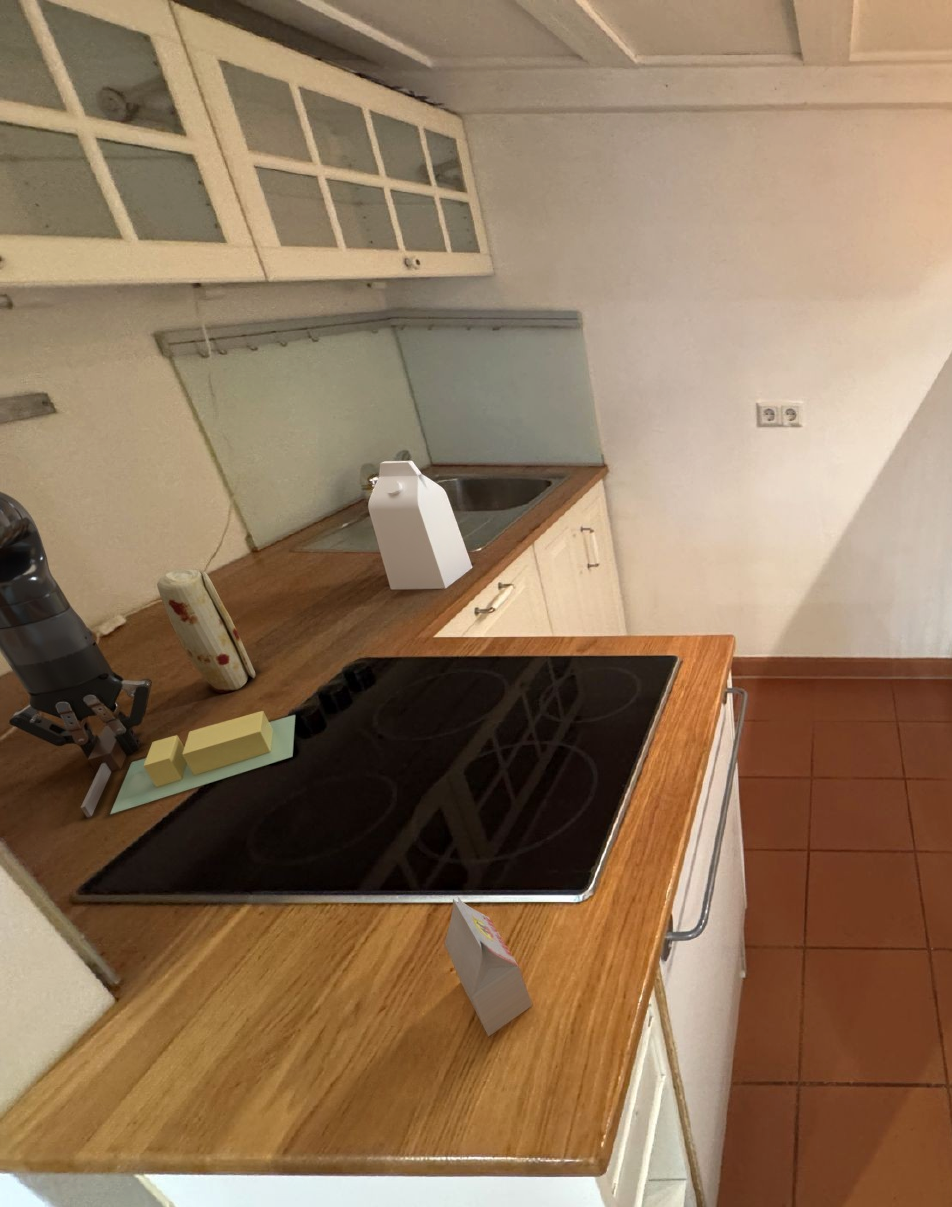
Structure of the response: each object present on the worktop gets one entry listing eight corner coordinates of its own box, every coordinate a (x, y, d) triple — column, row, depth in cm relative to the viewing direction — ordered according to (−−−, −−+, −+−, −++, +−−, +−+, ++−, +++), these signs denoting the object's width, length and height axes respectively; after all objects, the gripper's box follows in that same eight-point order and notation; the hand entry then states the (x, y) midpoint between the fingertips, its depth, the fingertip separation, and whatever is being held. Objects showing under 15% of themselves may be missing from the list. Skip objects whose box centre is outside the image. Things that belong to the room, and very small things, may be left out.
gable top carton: (490, 1042, 55) (458, 963, 50) (463, 988, 59) (430, 910, 55) (534, 1011, 57) (506, 932, 52) (504, 961, 61) (476, 884, 57)
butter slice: (156, 787, 83) (143, 765, 82) (164, 762, 88) (152, 741, 86) (182, 779, 85) (169, 757, 83) (189, 755, 89) (177, 734, 88)
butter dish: (113, 820, 80) (109, 814, 79) (135, 768, 89) (131, 762, 88) (295, 762, 89) (292, 756, 88) (297, 720, 98) (295, 714, 97)
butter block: (194, 775, 85) (181, 754, 84) (200, 752, 90) (188, 731, 88) (270, 752, 89) (260, 731, 88) (273, 730, 94) (263, 710, 92)
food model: (206, 680, 109) (148, 569, 100) (257, 666, 113) (205, 557, 104) (208, 705, 102) (146, 588, 93) (262, 688, 106) (207, 575, 97)
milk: (472, 567, 151) (440, 454, 139) (445, 588, 140) (408, 468, 129) (421, 568, 151) (385, 456, 140) (390, 589, 141) (348, 469, 129)
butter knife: (80, 826, 79) (64, 803, 77) (117, 746, 93) (104, 726, 91) (105, 818, 80) (90, 796, 78) (138, 740, 94) (126, 720, 93)
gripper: (-44, 678, 76) (38, 793, 84) (118, 642, 83) (181, 751, 91) (-19, 652, 82) (56, 762, 89) (131, 621, 89) (189, 725, 96)
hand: (119, 756), depth 90 cm, fingers closed on butter knife, 2 cm apart
